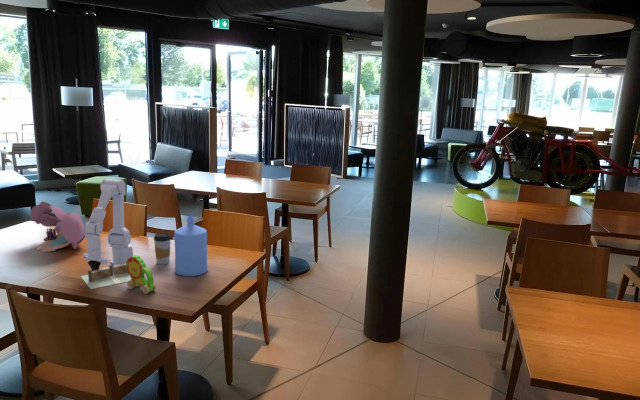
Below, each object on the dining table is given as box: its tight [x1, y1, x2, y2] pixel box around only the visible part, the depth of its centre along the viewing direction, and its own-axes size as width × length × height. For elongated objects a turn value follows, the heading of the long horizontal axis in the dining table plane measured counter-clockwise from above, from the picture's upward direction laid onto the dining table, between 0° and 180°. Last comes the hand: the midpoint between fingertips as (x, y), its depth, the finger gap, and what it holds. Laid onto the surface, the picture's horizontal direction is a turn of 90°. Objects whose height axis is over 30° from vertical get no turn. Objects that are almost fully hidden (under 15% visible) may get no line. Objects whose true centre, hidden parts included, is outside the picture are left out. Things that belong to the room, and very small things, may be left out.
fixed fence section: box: [109, 263, 128, 276], centre depth 234 cm, size 12×2×5 cm, turn 129°
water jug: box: [173, 215, 208, 277], centre depth 239 cm, size 16×16×28 cm
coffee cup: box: [153, 232, 172, 265], centre depth 250 cm, size 8×8×15 cm
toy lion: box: [126, 254, 157, 295], centre depth 217 cm, size 16×5×15 cm, turn 58°
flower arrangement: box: [30, 201, 86, 252], centre depth 266 cm, size 35×24×28 cm
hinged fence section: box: [87, 266, 111, 282], centre depth 226 cm, size 10×2×5 cm, turn 142°
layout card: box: [80, 269, 131, 290], centre depth 230 cm, size 24×18×1 cm
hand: (95, 275), depth 227 cm, fingers closed, pressing on hinged fence section
